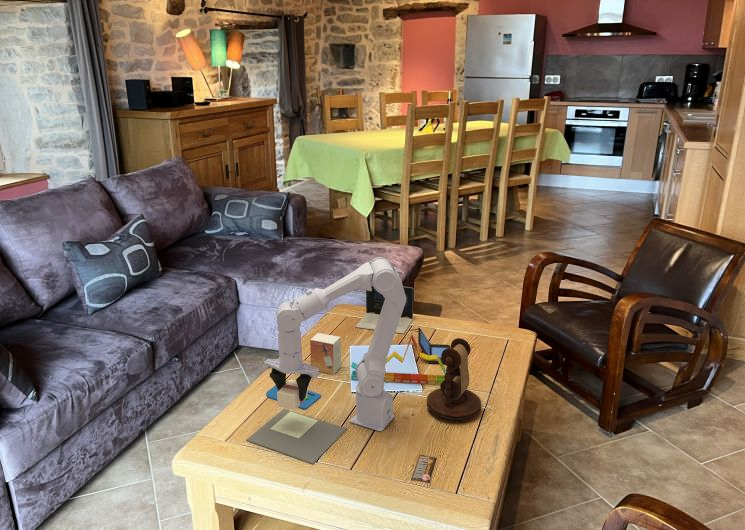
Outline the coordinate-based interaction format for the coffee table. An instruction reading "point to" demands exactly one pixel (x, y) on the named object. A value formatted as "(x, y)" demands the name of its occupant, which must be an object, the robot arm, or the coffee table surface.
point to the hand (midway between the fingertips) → (292, 396)
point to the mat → (297, 435)
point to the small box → (326, 353)
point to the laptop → (375, 306)
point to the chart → (405, 376)
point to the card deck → (289, 395)
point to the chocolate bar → (424, 469)
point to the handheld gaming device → (305, 404)
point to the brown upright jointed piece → (455, 386)
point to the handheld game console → (430, 347)
